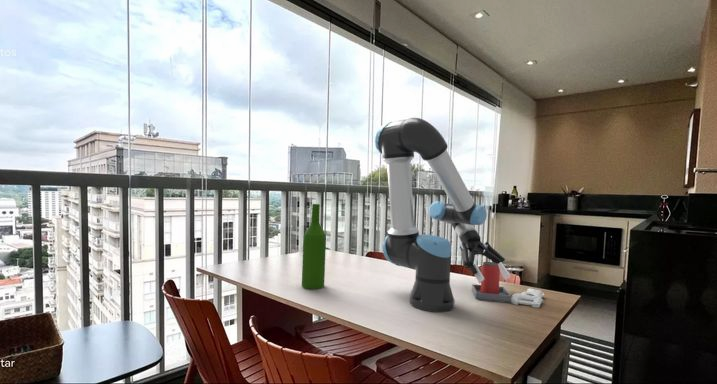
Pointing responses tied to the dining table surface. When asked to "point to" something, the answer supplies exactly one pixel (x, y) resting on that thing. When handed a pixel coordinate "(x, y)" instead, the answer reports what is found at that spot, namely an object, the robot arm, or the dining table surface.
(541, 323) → the dining table surface
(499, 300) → the can tray
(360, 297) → the dining table surface
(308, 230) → the wine bottle
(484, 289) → the beer can
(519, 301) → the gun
